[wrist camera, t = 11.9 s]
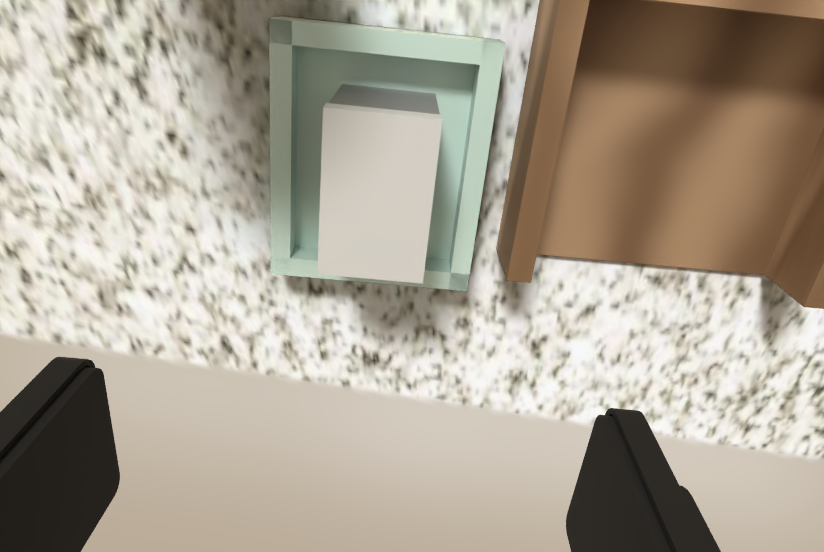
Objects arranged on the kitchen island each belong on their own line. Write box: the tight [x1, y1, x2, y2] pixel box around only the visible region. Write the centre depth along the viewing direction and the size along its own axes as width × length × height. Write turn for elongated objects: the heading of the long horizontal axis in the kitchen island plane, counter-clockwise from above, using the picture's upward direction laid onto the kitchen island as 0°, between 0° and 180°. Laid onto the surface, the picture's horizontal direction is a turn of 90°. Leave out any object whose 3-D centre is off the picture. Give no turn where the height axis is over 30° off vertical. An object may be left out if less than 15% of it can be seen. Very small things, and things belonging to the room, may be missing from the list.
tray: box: [269, 16, 506, 291], centre depth 30 cm, size 10×12×2 cm
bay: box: [496, 0, 824, 309], centre depth 28 cm, size 16×14×4 cm
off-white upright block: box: [317, 84, 443, 284], centre depth 27 cm, size 5×7×6 cm, turn 174°
